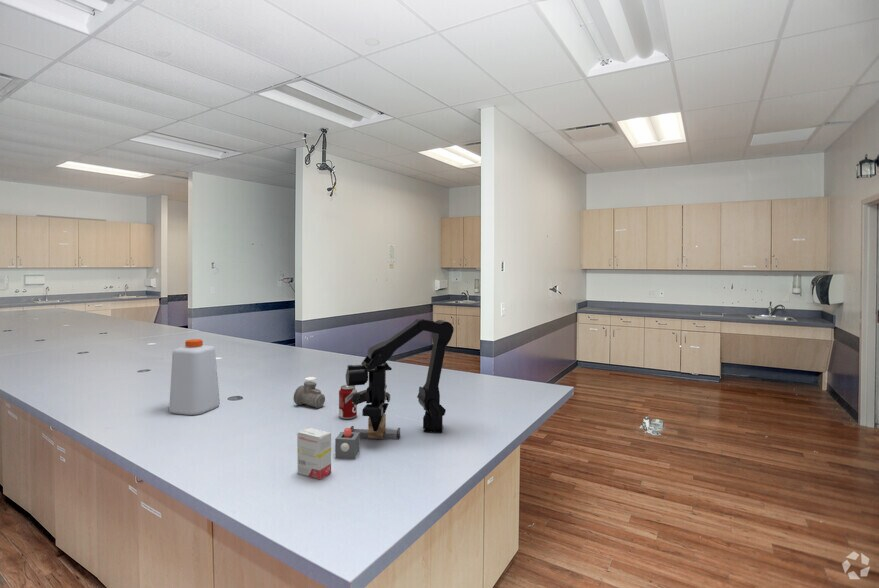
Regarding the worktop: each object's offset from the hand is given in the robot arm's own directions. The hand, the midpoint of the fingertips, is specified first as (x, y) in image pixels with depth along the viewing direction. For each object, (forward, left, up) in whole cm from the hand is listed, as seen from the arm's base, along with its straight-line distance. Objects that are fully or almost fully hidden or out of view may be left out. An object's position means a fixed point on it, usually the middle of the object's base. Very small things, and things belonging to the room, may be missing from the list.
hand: (376, 428), depth 153 cm
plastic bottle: (+78, -22, -3) cm, 81 cm away
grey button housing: (+6, +15, -3) cm, 17 cm away
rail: (+1, 0, -3) cm, 3 cm away
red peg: (+6, +15, +1) cm, 16 cm away
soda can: (+15, -19, -3) cm, 25 cm away
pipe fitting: (+34, -31, -3) cm, 46 cm away
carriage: (0, 0, -3) cm, 3 cm away
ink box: (+12, +28, -3) cm, 31 cm away
